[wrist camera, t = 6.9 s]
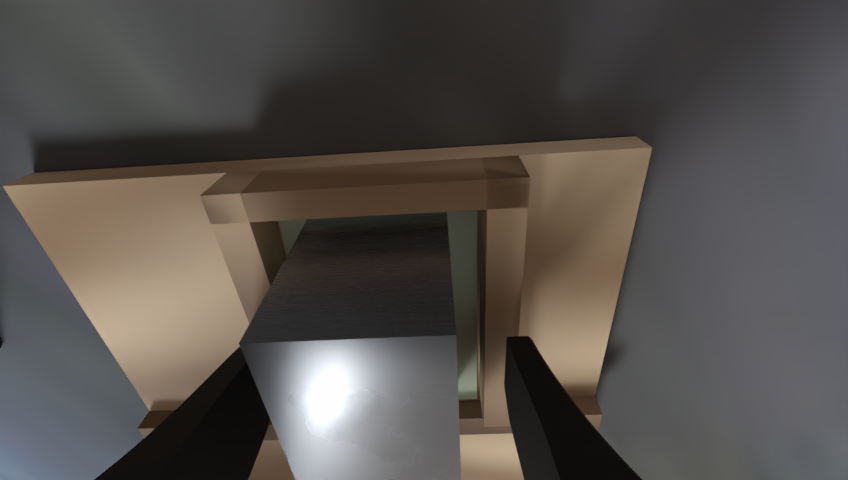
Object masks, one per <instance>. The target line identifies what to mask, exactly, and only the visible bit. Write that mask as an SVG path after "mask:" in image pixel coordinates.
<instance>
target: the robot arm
mask: <svg viewBox="0 0 848 480" xmlns="http://www.w3.org/2000/svg"><path fill="white" fill-rule="evenodd" d="M504 388H505V395H506V402H507V409H508V415H509V421H510V425H511V430H512V434H513V438H514V442H515V445H516V449H517V453H518V457H519V461H520V465H521V469H522V473H523V477H524V480H642V479H641V478H640V477H639V476H638V475H637V474H636V473H635V472H634V471H633V470H632V469H631V468H630V467H629V465H628V464H627V463H626V462H625V461H624V460H623V459H622V458H621V457H620V456H619V455H618V454H617V453H616V452H615V450H614V449H613V448H612V447H611V446H610V445H609V444H608V443H607V441H606V440H605V439H604V438H603V437H602V436H601V435H600V433H599V432H598V431H597V430H596V429H595V427H594V426H593V425H592V424H591V423H590V421H589V420H588V419H587V418H586V417H585V415H584V414H583V413H582V411H581V410H580V409H579V408H578V406H577V405H576V404H575V402H574V401H573V400H572V398H571V397H570V396H569V394H568V393H567V392H566V390H565V389H564V388H563V386H562V385H561V384H560V382H559V381H558V379H557V378H556V376H555V375H554V374H553V372H552V371H551V369H550V368H549V366H548V365H547V363H546V362H545V360H544V358H543V357H542V355H541V354H540V352H539V350H538V349H537V347H536V345H535V344H534V342H533V340H532V339H531V338H530V337H529V336H514V337H507V340H506V359H505V378H504ZM269 422H270V417H269V415H268V412H267V410H266V408H265V405H264V403H263V400H262V398H261V396H260V393H259V391H258V388H257V386H256V384H255V381H254V379H253V376H252V374H251V372H250V369H249V367H248V364H247V362H246V360H245V357H244V355H243V353H242V350H241V348H240V347H239V348H238V349H236V350H235V351H234V352H233V353H232V354H231V355H230V356H229V357H228V358H227V359H226V360H225V361H224V362H223V363H222V364H221V365H220V366H219V367H218V368H217V369H216V370H215V371H214V372H213V373H212V374H211V375H210V376H209V377H208V378H207V379H206V380H205V381H204V382H203V383H202V384H201V385H200V386H199V387H198V388H197V389H196V390H195V391H194V392H193V393H192V394H191V395H190V396H189V397H188V398H187V399H186V400H185V401H184V402H183V403H182V404H181V405H180V406H179V407H178V408H177V409H176V410H175V411H174V412H172V413H171V414H170V415H169V416H168V417H167V418H166V419H165V420H164V421H163V422H162V423H160V424H159V425H158V426H157V427H156V428H155V429H154V430H153V431H152V432H151V433H150V434H148V435H147V436H146V437H145V438H144V439H143V440H142V441H141V442H140V443H138V444H137V445H136V446H135V447H134V448H133V449H131V450H130V451H129V452H128V453H127V454H126V455H124V456H123V457H122V458H121V459H120V460H118V461H117V462H116V463H115V464H113V465H112V466H111V467H110V468H108V469H107V470H106V471H105V472H103V473H102V474H101V475H100V476H98V477H97V478H96V479H95V480H248V479H249V476H250V474H251V471H252V469H253V466H254V464H255V461H256V458H257V456H258V453H259V451H260V448H261V445H262V443H263V440H264V437H265V435H266V432H267V429H268V426H269Z"/></svg>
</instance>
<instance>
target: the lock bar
mask: <svg viewBox="0 0 848 480" xmlns="http://www.w3.org/2000/svg"><path fill="white" fill-rule="evenodd" d="M239 345H240V348H241V350H242V353H243V355H244V357H245V360H246V362H247V364H248V367H249V369H250V372H251V374H252V376H253V379H254V381H255V384H256V386H257V388H258V391H259V393H260V396H261V398H262V400H263V403H264V405H265V408H266V410H267V412H268V415H269V417H270V420H271V422H272V424H273V427H274V429H275V431H276V434H277V436H278V439H279V441H280V443H281V446H282V448H283V451H284V453H285V455H286V458H287V460H288V463H289V465H290V467H291V470H292V472H293V475H294V477H295V479H296V480H461V459H460V429H459V400H458V370H457V341H456V325H455V312H454V299H453V286H452V273H451V260H450V247H449V234H448V222H447V212H434V213H415V214H396V215H378V216H359V217H341V218H322V219H307V221H306V222H305V224H304V226H303V228H302V230H301V232H300V233H299V235H298V237H297V239H296V241H295V242H294V244H293V246H292V248H291V250H290V252H289V253H288V255H287V257H286V259H285V261H284V262H283V264H282V266H281V268H280V270H279V271H278V273H277V275H276V277H275V279H274V281H273V282H272V284H271V286H270V288H269V290H268V291H267V293H266V295H265V297H264V299H263V301H262V302H261V304H260V306H259V308H258V310H257V311H256V313H255V315H254V317H253V319H252V320H251V322H250V324H249V326H248V328H247V330H246V331H245V333H244V335H243V337H242V339H241V340H240V342H239Z"/></svg>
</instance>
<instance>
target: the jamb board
mask: <svg viewBox="0 0 848 480" xmlns="http://www.w3.org/2000/svg"><path fill="white" fill-rule="evenodd" d="M651 151H652V147H651V146H649V145H648V144H646V143H645V142H644V141H642V140H641V139H639V138H638V137H636V136H632V137H615V138H599V139H582V140H566V141H550V142H533V143H517V144H500V145H484V146H467V147H451V148H435V149H418V150H402V151H385V152H369V153H352V154H336V155H320V156H303V157H287V158H270V159H254V160H237V161H221V162H204V163H188V164H172V165H155V166H139V167H122V168H106V169H89V170H73V171H57V172H40V173H31V174H29V175H27V176H24V177H22V178H20V179H18V180H15V181H13V182H11V183H9V184H6V185H4V186H3V187H4V189H5V191H6V192H7V194H8V195H9V197H10V198H11V200H12V201H13V203H14V204H15V206H16V207H17V209H18V210H19V212H20V213H21V215H22V217H23V218H24V220H25V221H26V223H27V224H28V226H29V227H30V229H31V230H32V232H33V233H34V235H35V236H36V238H37V239H38V241H39V243H40V244H41V246H42V247H43V249H44V250H45V252H46V253H47V255H48V256H49V258H50V259H51V261H52V262H53V264H54V265H55V267H56V269H57V270H58V272H59V273H60V275H61V276H62V278H63V279H64V281H65V282H66V284H67V285H68V287H69V288H70V290H71V291H72V293H73V295H74V296H75V298H76V299H77V301H78V302H79V304H80V305H81V307H82V308H83V310H84V311H85V313H86V314H87V316H88V318H89V319H90V321H91V322H92V324H93V325H94V327H95V328H96V330H97V331H98V333H99V334H100V336H101V337H102V339H103V340H104V342H105V344H106V345H107V347H108V348H109V350H110V351H111V353H112V354H113V356H114V357H115V359H116V360H117V362H118V363H119V365H120V366H121V368H122V370H123V371H124V373H125V374H126V376H127V377H128V379H129V380H130V382H131V383H132V385H133V386H134V388H135V389H136V391H137V392H138V394H139V396H140V397H141V399H142V400H143V402H144V403H145V405H146V406H147V408H148V409H149V412H148V414H147V415H146V417H145V418H144V420H143V421H142V423H141V424H140V426H139V427H138V430H139V432H140V433H141V434H142V436H143V437H144V438H145V437H146V436H147V435H148V434H150V433H151V432H152V431H153V430H154V429H155V428H156V427H157V426H158V425H159V424H160V423H162V422H163V421H164V420H165V419H166V418H167V417H168V416H169V415H170V414H171V413H172V412H174V411H175V410H176V409H177V408H178V407H179V406H180V405H181V404H182V403H183V402H184V401H185V400H186V399H187V398H188V397H189V396H190V395H191V394H192V393H193V392H194V391H195V390H196V389H197V388H198V387H199V386H200V385H201V384H202V383H203V382H204V381H205V380H206V379H207V378H208V377H209V376H210V375H211V374H212V373H213V372H214V371H215V370H216V369H217V368H218V367H219V366H220V365H221V364H222V363H223V362H224V361H225V360H226V359H227V358H228V357H229V356H230V355H231V354H232V353H233V352H234V351H235V350H236V349H238V348H239V347H240V345H239V342H240V340H241V339H242V337H243V335H244V333H245V331H246V330H247V328H248V326H249V324H250V322H251V320H252V319H253V317H254V315H255V313H256V311H257V310H258V308H259V306H260V304H261V302H262V301H263V299H264V297H265V295H266V293H267V291H268V290H269V288H270V286H271V284H272V282H273V281H274V279H275V277H276V275H277V273H278V271H279V270H280V268H281V266H282V264H283V262H284V261H285V259H286V257H287V255H288V253H289V252H290V250H291V248H292V246H293V244H294V242H295V241H296V239H297V237H298V235H299V233H300V232H301V230H302V228H303V226H304V224H305V222H306V221H307V219H322V218H341V217H359V216H378V215H396V214H415V213H434V212H447V222H448V234H449V247H450V260H451V273H452V286H453V299H454V312H455V325H456V341H457V370H458V400H459V429H460V459H461V480H524V477H523V473H522V469H521V465H520V461H519V457H518V453H517V449H516V445H515V442H514V438H513V434H512V430H511V425H510V421H509V415H508V409H507V402H506V395H505V388H504V378H505V359H506V340H507V337H514V336H529V337H530V338H531V339H532V340H533V342H534V344H535V345H536V347H537V349H538V350H539V352H540V354H541V355H542V357H543V358H544V360H545V362H546V363H547V365H548V366H549V368H550V369H551V371H552V372H553V374H554V375H555V376H556V378H557V379H558V381H559V382H560V384H561V385H562V386H563V388H564V389H565V390H566V392H567V393H568V394H569V396H570V397H571V398H572V400H573V401H574V402H575V404H576V405H577V406H578V408H579V409H580V410H581V411H582V413H583V414H584V415H585V417H586V418H587V419H588V420H589V421H590V423H591V424H592V425H593V426H594V427H595V429H596V430H597V431H598V430H599V426H600V422H601V418H602V412H601V410H600V407H599V405H598V403H597V400H596V398H595V394H596V390H597V385H598V381H599V377H600V372H601V368H602V364H603V359H604V355H605V351H606V346H607V342H608V338H609V333H610V329H611V325H612V320H613V316H614V312H615V307H616V303H617V299H618V294H619V290H620V286H621V281H622V277H623V273H624V268H625V264H626V260H627V255H628V251H629V247H630V242H631V238H632V234H633V229H634V225H635V221H636V216H637V212H638V208H639V203H640V199H641V195H642V190H643V186H644V182H645V177H646V173H647V169H648V164H649V160H650V156H651ZM248 480H296V479H295V477H294V475H293V472H292V470H291V467H290V465H289V463H288V460H287V458H286V455H285V453H284V451H283V448H282V446H281V443H280V441H279V439H278V436H277V434H276V431H275V429H274V427H273V424H272V422H271V420H270V422H269V426H268V429H267V432H266V435H265V437H264V440H263V443H262V445H261V448H260V451H259V453H258V456H257V458H256V461H255V464H254V466H253V469H252V471H251V474H250V476H249V479H248Z"/></svg>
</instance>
